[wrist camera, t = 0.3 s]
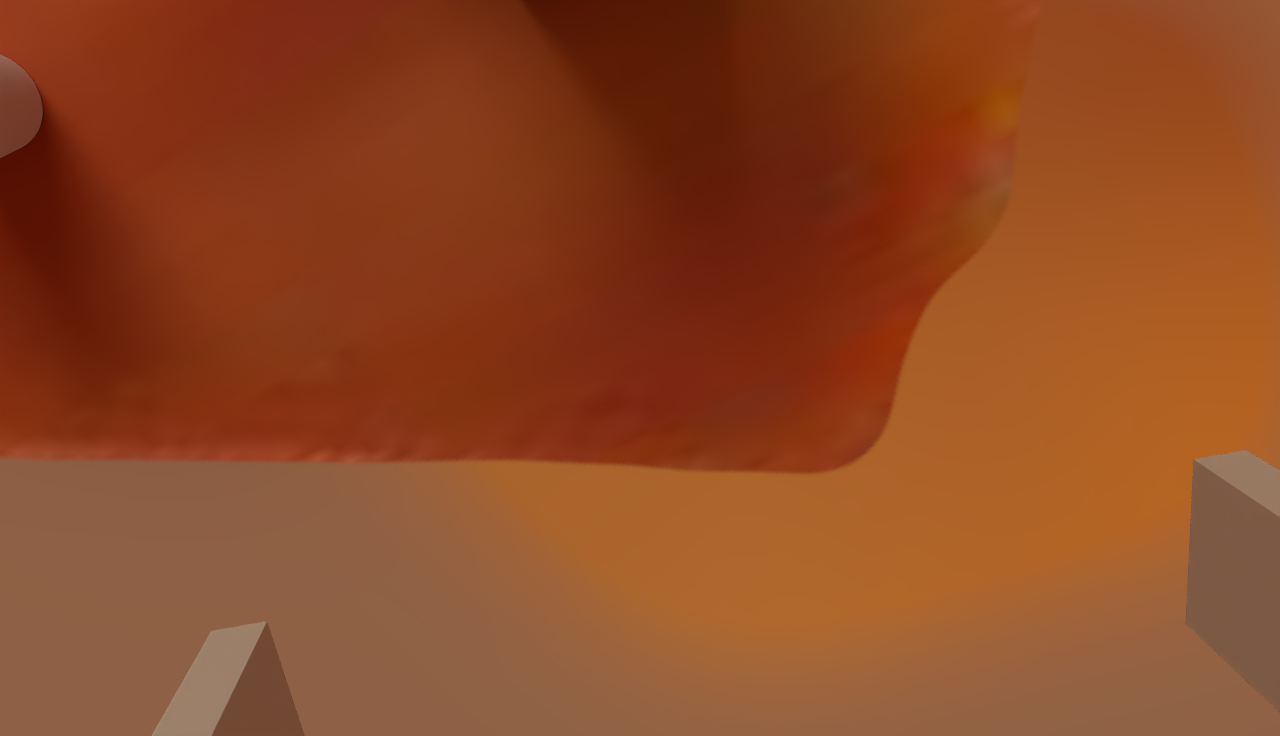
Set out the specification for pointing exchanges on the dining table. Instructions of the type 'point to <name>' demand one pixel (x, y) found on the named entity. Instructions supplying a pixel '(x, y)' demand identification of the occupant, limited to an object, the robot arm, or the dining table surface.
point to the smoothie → (17, 107)
